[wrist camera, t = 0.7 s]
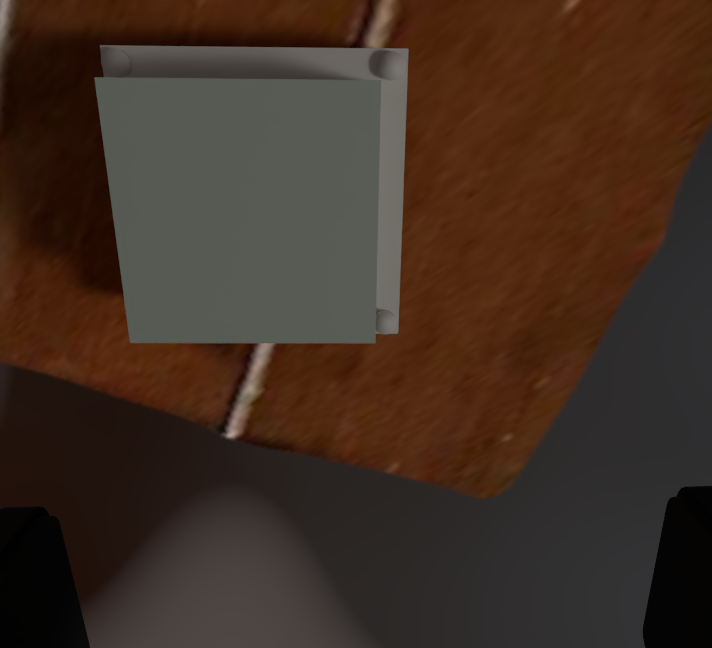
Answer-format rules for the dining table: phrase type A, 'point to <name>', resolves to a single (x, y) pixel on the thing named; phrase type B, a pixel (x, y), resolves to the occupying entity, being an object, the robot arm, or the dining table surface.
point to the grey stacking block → (256, 190)
